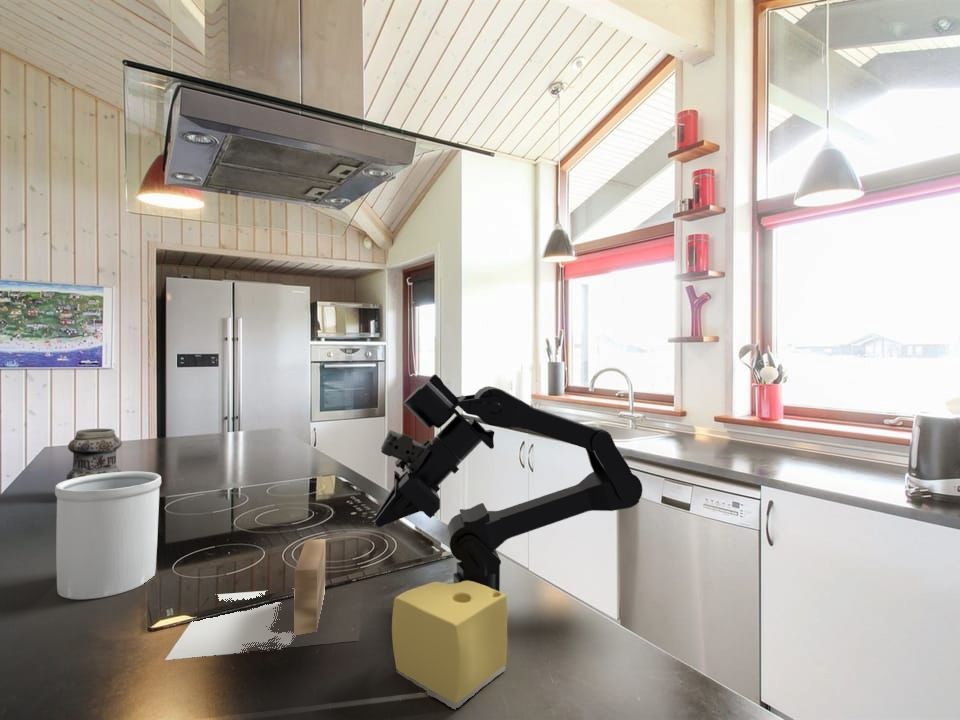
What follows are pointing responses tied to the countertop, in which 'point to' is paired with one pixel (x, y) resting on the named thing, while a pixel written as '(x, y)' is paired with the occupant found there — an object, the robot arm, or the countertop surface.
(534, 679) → the countertop surface
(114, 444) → the apothecary jar
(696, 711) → the countertop surface
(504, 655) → the cheese
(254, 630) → the mat
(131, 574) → the utensil holder
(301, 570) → the oak board
